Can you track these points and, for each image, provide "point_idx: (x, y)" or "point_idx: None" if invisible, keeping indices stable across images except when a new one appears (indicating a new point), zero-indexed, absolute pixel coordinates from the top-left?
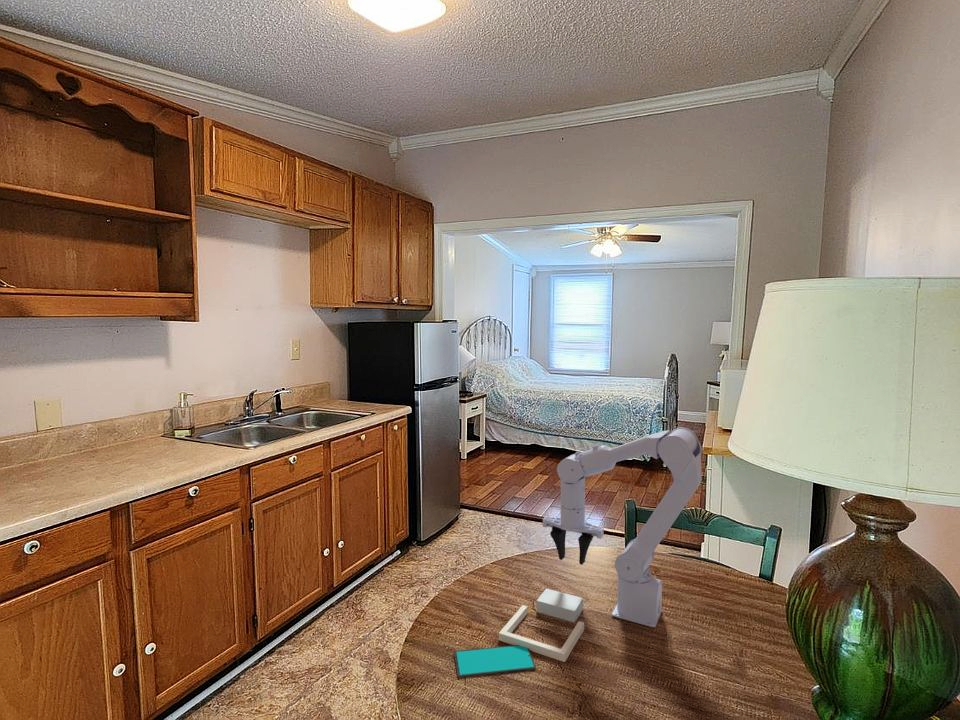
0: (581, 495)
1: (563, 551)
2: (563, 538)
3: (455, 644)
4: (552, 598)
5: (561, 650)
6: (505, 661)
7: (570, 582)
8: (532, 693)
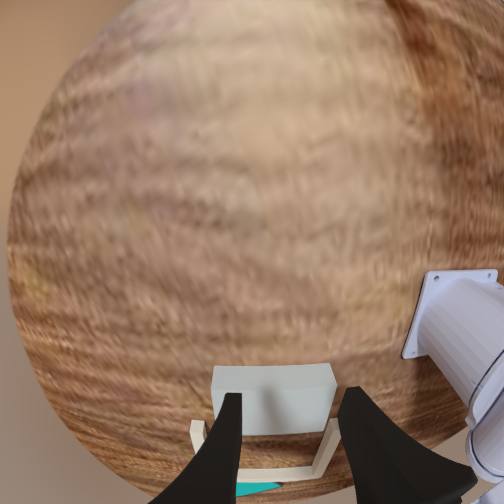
0: None
1: (239, 434)
2: (233, 500)
3: (159, 477)
4: (251, 418)
5: (314, 476)
6: (241, 489)
7: (247, 237)
8: (292, 495)
